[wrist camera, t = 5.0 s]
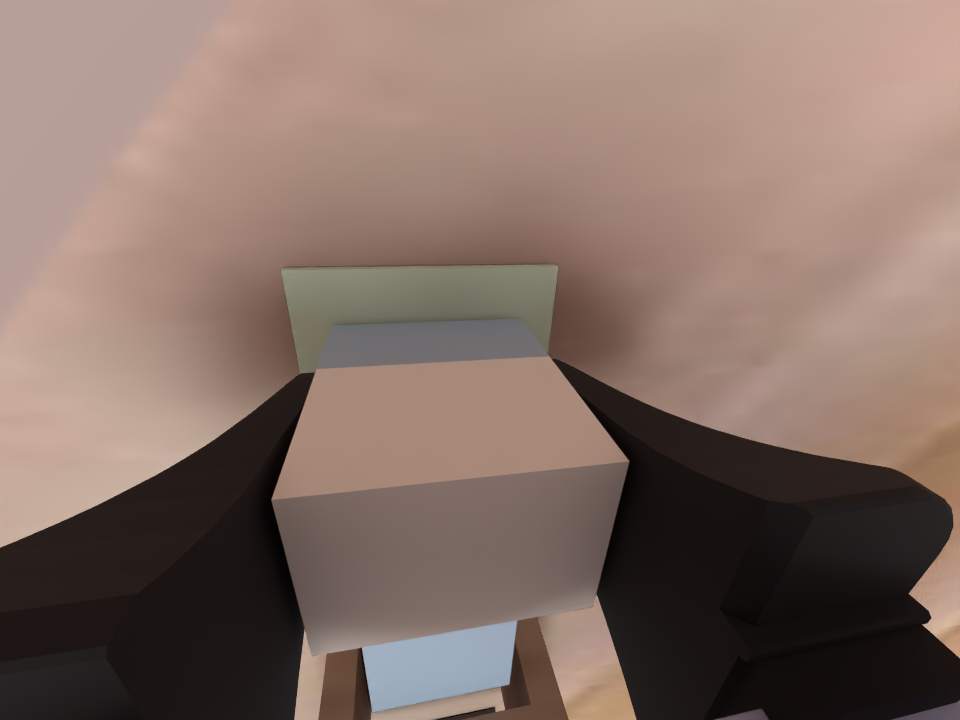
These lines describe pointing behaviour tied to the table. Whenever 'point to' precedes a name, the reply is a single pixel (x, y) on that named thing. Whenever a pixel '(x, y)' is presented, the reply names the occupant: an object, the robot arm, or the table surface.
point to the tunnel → (527, 716)
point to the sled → (442, 501)
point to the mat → (414, 299)
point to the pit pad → (471, 714)
